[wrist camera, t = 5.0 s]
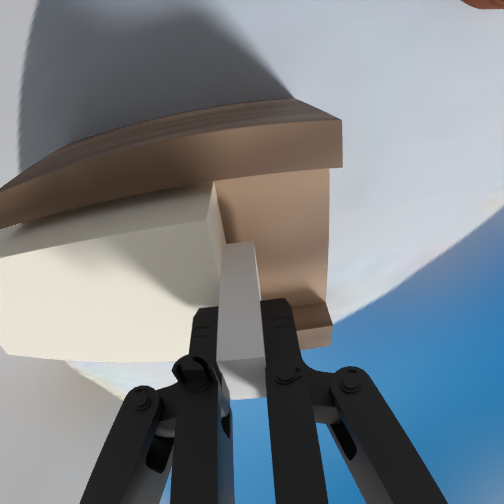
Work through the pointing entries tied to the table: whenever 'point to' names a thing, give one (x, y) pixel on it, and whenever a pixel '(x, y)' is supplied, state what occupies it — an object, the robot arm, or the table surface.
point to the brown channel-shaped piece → (216, 187)
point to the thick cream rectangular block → (112, 277)
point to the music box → (485, 4)
